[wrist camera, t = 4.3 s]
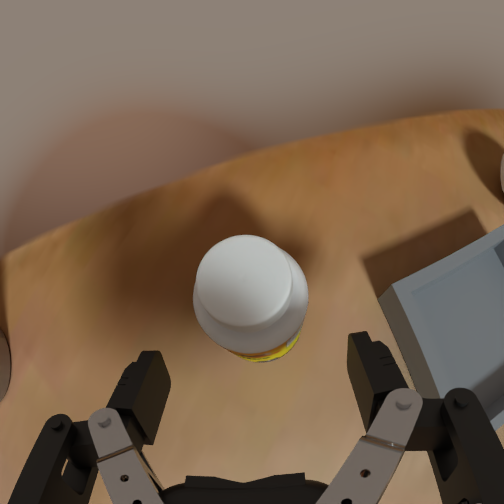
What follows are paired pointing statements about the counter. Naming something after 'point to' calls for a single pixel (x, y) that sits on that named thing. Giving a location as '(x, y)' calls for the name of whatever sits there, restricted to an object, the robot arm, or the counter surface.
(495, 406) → the tray
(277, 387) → the counter surface
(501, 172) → the white swirled ball
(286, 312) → the supplement bottle
